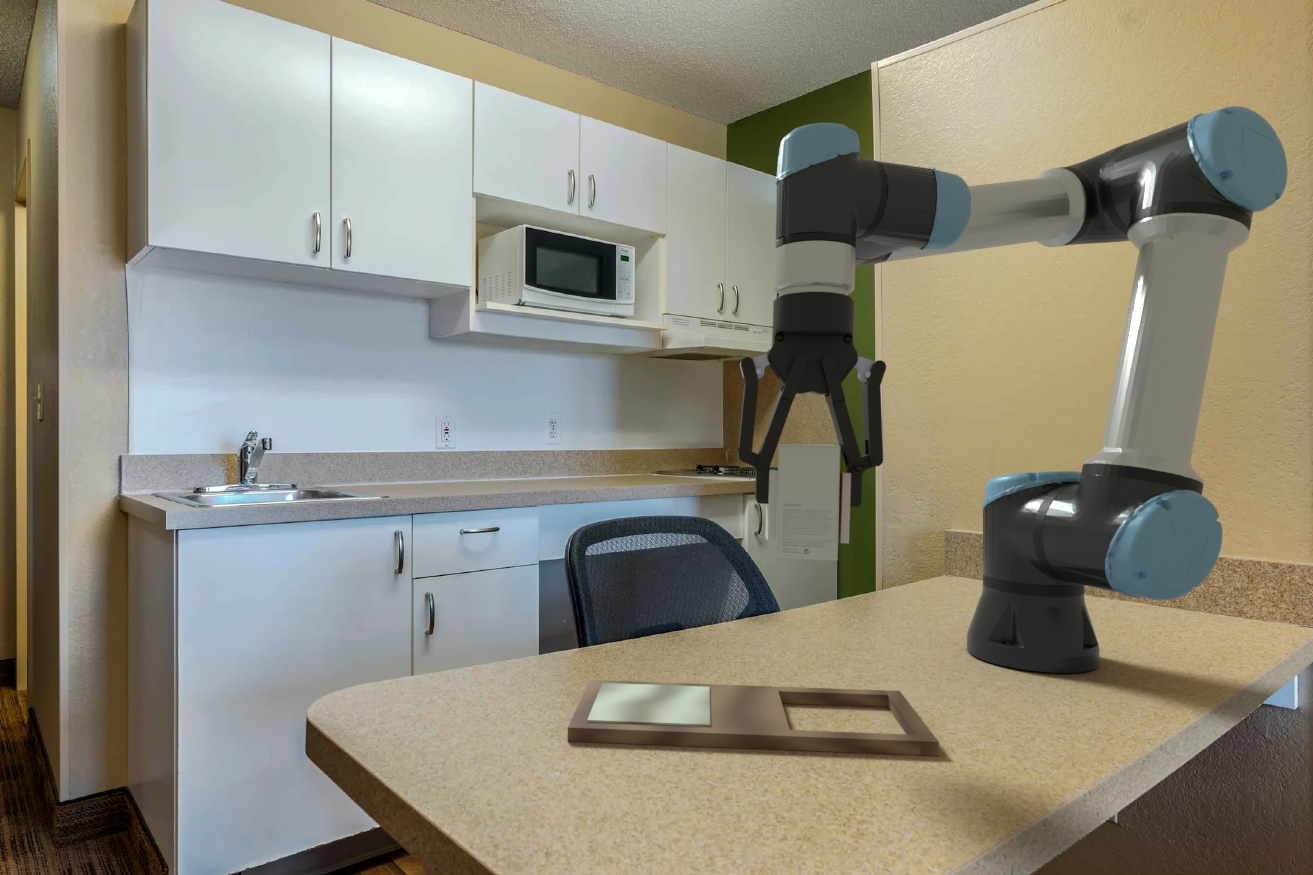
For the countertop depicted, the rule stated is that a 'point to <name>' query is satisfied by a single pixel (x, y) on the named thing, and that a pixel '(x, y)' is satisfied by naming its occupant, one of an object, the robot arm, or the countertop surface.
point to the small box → (808, 502)
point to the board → (736, 717)
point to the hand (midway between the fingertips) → (806, 539)
